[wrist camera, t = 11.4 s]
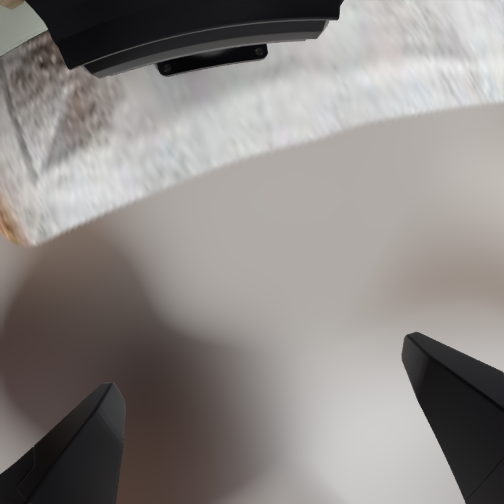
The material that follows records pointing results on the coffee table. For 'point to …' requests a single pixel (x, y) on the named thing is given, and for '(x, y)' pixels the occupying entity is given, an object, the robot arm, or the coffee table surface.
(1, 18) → the mat
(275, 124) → the coffee table surface
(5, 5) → the stool
